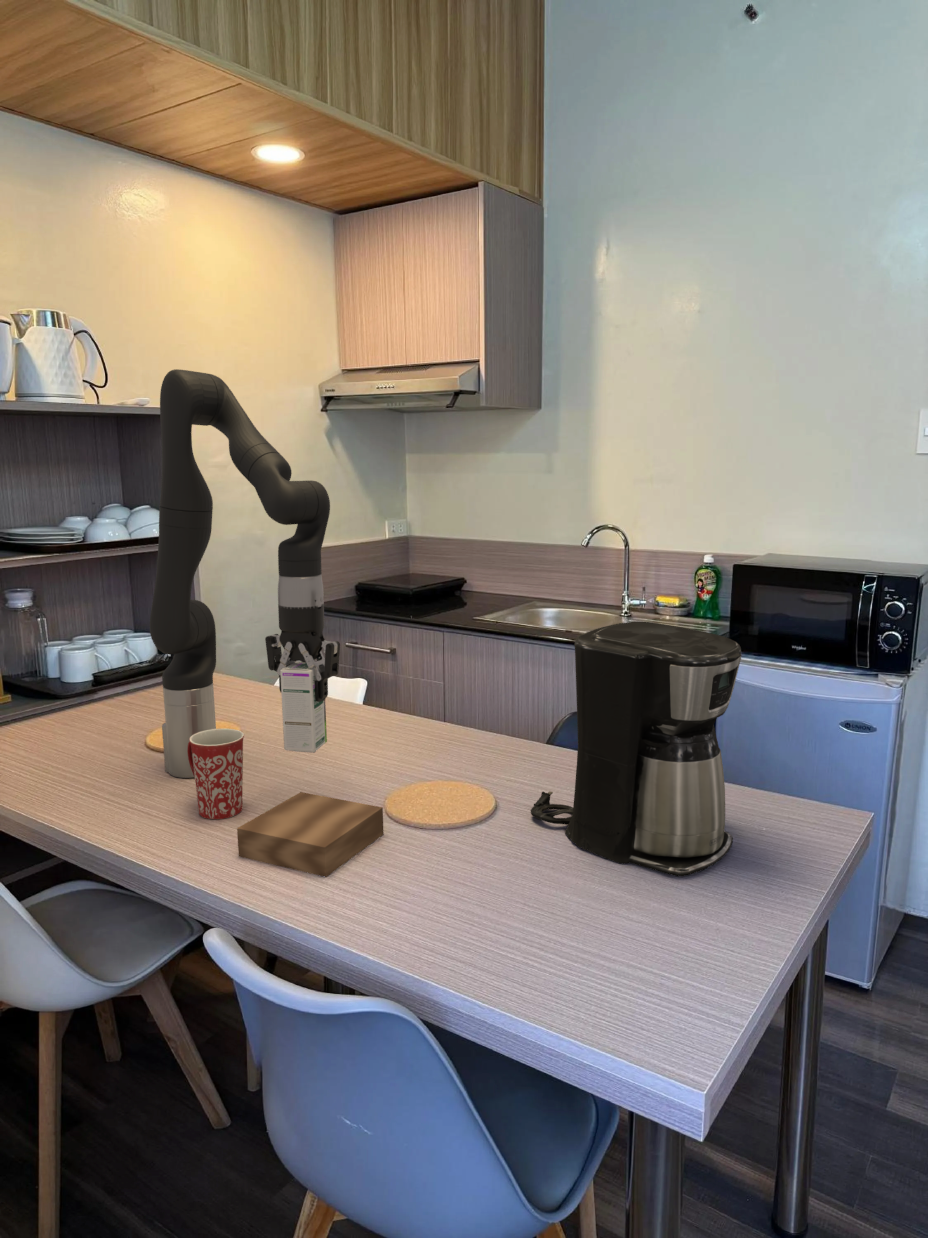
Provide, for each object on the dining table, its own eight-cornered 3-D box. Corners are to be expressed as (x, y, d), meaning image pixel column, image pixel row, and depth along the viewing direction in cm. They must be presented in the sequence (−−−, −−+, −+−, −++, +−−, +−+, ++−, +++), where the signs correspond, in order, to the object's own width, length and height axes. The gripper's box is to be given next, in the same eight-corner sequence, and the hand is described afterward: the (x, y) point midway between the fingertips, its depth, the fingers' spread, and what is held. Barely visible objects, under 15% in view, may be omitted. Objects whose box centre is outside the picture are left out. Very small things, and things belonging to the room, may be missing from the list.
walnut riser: (238, 859, 132) (236, 828, 131) (302, 820, 146) (300, 792, 145) (326, 880, 125) (324, 847, 124) (383, 836, 139) (382, 807, 138)
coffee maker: (731, 887, 121) (743, 651, 115) (507, 858, 130) (506, 639, 124) (733, 823, 142) (742, 621, 136) (540, 802, 152) (541, 612, 146)
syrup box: (315, 753, 146) (313, 670, 143) (282, 751, 147) (279, 667, 144) (327, 742, 151) (325, 662, 149) (295, 740, 152) (293, 660, 150)
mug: (259, 810, 149) (254, 735, 147) (212, 826, 143) (207, 748, 140) (218, 792, 157) (214, 720, 155) (173, 807, 151) (167, 732, 148)
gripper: (252, 601, 144) (256, 698, 147) (323, 608, 138) (326, 709, 141) (280, 595, 151) (283, 688, 154) (349, 601, 145) (351, 698, 148)
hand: (303, 697), depth 148 cm, fingers closed on syrup box, 6 cm apart
